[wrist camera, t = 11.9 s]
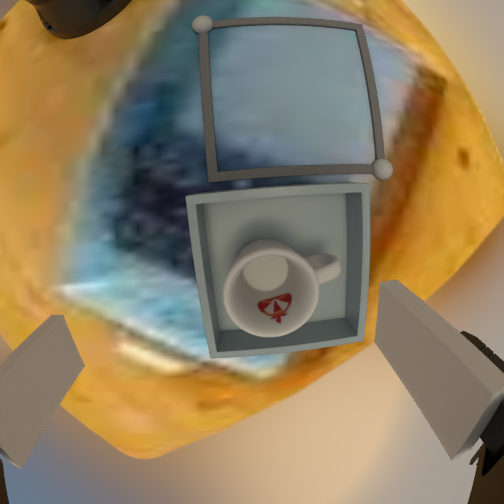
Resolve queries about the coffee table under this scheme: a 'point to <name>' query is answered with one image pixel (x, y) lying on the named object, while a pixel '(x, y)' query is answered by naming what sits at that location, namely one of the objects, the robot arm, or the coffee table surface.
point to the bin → (298, 239)
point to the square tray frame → (379, 168)
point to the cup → (275, 287)
